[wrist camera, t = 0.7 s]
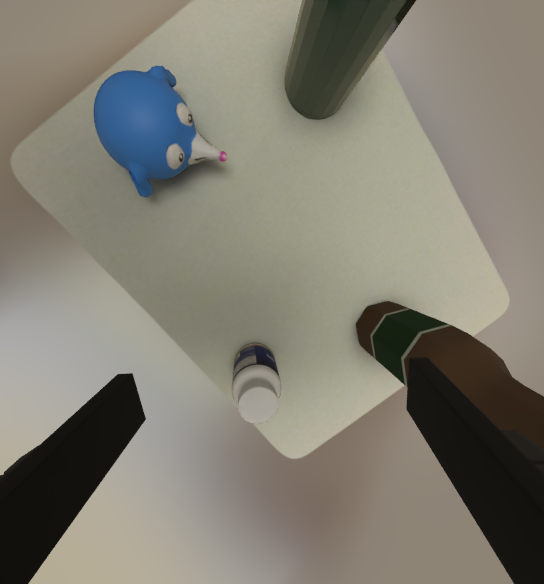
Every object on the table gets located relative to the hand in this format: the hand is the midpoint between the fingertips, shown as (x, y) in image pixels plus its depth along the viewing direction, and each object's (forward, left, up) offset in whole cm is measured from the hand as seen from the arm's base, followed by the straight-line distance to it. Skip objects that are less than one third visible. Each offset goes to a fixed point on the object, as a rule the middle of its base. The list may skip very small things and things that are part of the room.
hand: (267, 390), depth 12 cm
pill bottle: (+7, -5, -21) cm, 23 cm away
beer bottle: (+13, +12, -21) cm, 28 cm away
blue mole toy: (-19, +2, -21) cm, 28 cm away
